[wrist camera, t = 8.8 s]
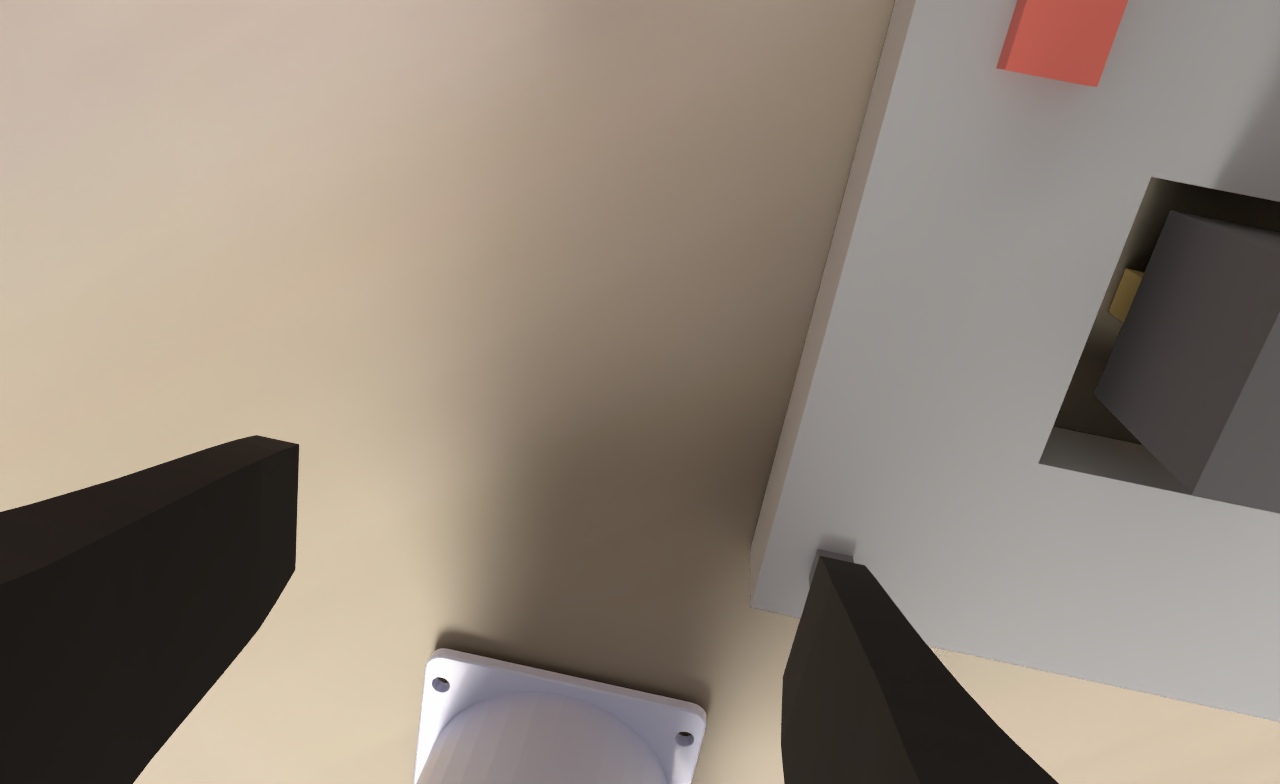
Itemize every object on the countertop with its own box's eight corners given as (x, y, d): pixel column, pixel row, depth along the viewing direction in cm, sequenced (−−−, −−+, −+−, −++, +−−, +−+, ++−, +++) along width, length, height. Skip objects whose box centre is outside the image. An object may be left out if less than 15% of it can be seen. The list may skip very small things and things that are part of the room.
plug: (1245, 407, 20) (1434, 546, 15) (1070, 370, 20) (1191, 494, 15) (1329, 235, 19) (1575, 318, 13) (1139, 197, 19) (1303, 263, 13)
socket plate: (1373, 684, 22) (1465, 778, 20) (749, 550, 23) (750, 623, 20) (1800, 1, 16) (2025, -7, 13) (936, -156, 17) (975, -197, 14)
